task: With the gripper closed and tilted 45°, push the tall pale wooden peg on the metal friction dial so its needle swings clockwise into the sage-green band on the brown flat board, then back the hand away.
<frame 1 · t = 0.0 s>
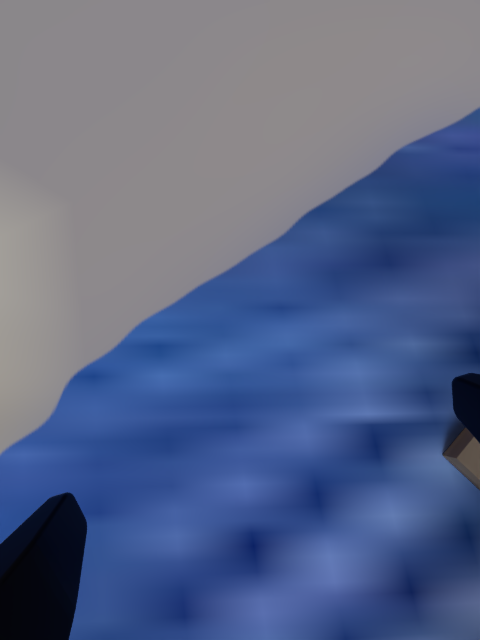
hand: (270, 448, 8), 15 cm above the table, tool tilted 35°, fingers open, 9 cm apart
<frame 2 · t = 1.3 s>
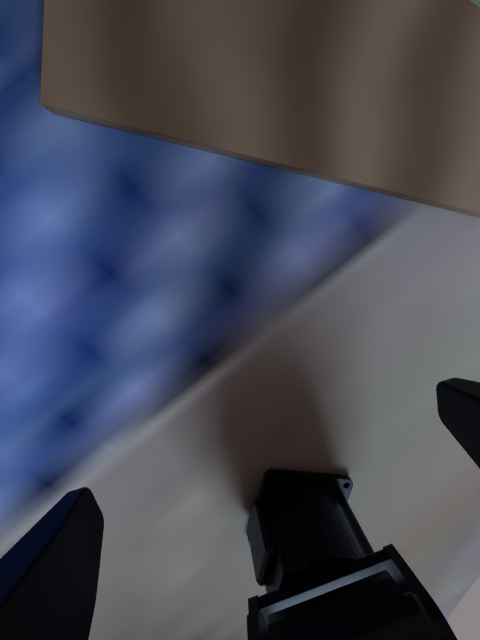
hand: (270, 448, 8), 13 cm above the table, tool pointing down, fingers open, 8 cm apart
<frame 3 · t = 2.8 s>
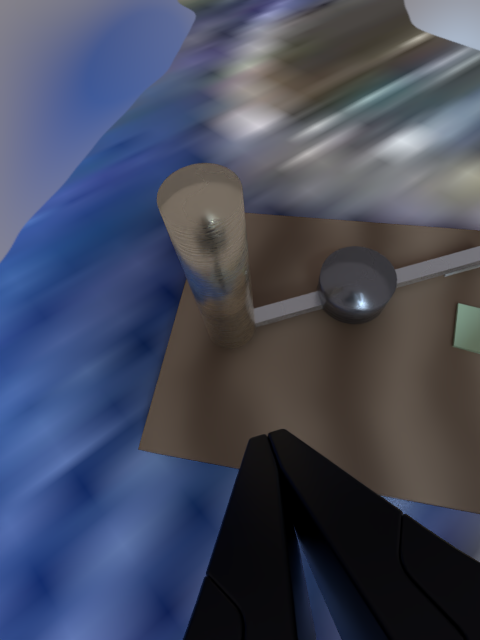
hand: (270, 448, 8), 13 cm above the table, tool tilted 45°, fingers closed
brown flat board: (354, 341, 23), on the table
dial: (374, 237, 17), point 8 cm above the table, hinge at 0.0°
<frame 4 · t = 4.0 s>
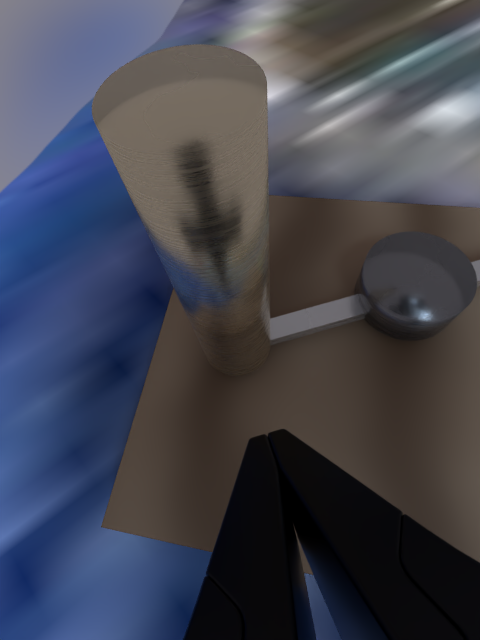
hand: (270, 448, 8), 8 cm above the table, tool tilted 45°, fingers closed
brown flat board: (406, 363, 17), on the table
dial: (460, 210, 11), point 8 cm above the table, hinge at 0.0°
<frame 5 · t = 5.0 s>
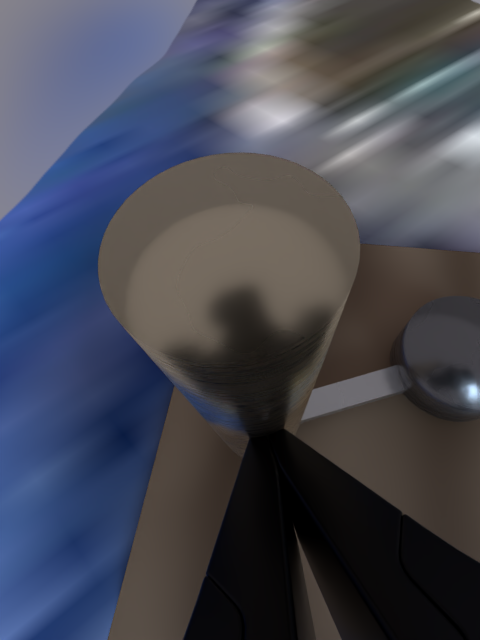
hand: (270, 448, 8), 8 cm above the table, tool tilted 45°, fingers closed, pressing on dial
brown flat board: (447, 438, 15), on the table
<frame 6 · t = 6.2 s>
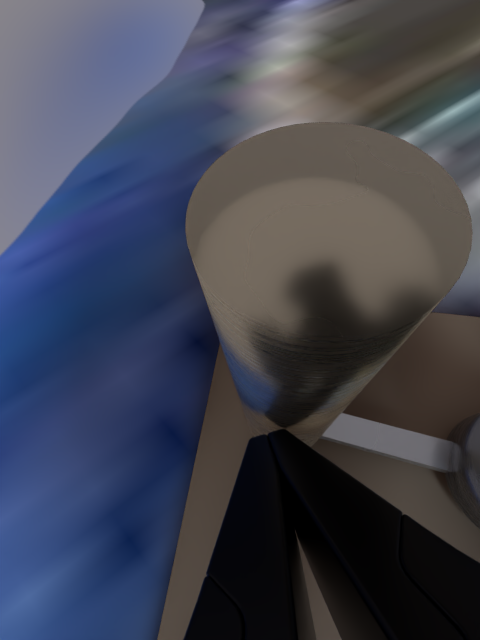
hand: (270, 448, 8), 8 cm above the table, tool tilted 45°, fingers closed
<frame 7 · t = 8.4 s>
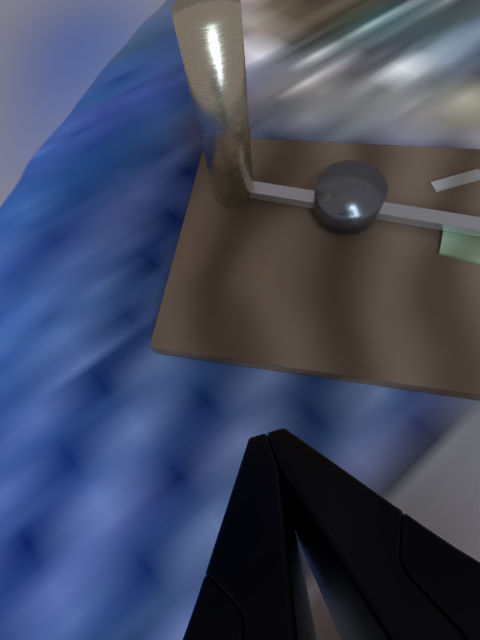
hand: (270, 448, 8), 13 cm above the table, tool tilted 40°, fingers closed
brown flat board: (348, 255, 24), on the table
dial: (365, 139, 18), point 8 cm above the table, hinge at 31.4°
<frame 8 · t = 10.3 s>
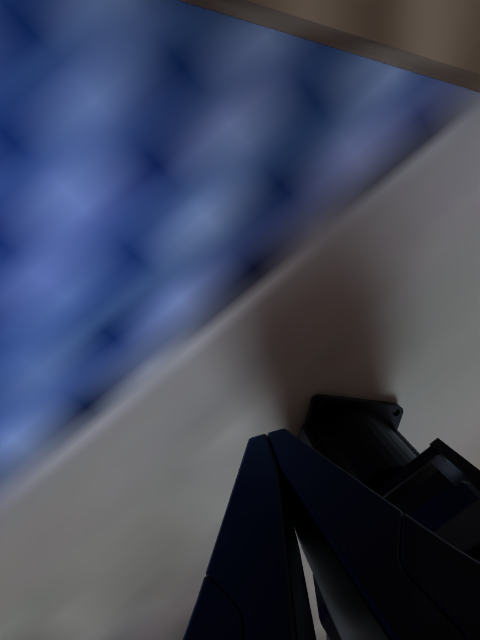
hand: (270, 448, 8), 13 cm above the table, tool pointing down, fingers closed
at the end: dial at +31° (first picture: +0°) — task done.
